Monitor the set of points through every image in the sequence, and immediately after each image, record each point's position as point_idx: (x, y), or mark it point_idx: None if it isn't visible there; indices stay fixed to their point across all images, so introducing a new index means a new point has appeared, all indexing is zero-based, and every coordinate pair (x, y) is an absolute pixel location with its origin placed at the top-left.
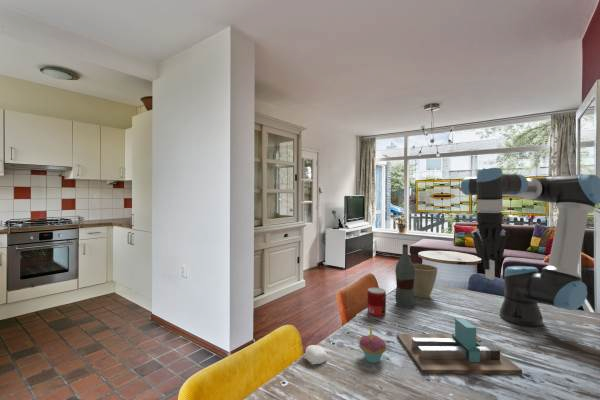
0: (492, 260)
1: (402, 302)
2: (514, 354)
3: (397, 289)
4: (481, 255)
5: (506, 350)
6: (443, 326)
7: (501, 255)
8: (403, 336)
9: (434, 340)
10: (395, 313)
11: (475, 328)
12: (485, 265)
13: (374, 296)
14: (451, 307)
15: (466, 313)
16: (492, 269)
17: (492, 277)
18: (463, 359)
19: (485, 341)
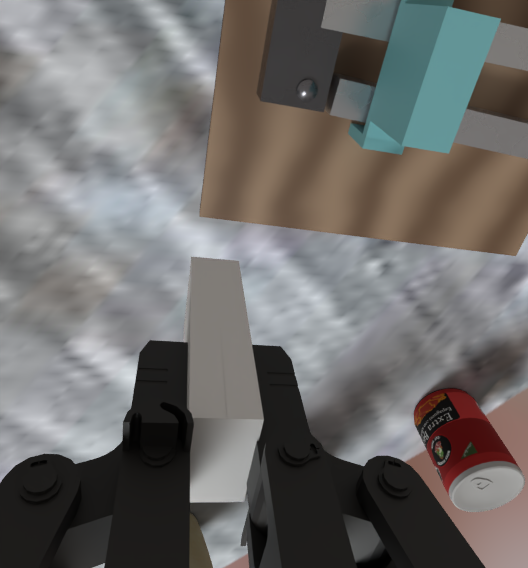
0: (197, 442)
1: None
2: (135, 41)
3: None
4: (438, 513)
5: (146, 82)
6: (267, 306)
7: (14, 514)
8: (510, 233)
9: (501, 128)
10: (373, 409)
11: (449, 7)
12: (296, 388)
13: (509, 454)
14: (114, 442)
15: (85, 396)
16: (220, 325)
17: (215, 271)
18: None
19: (276, 80)
